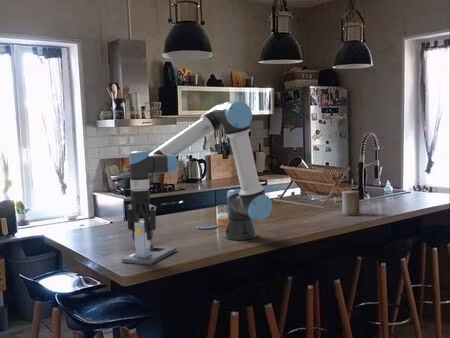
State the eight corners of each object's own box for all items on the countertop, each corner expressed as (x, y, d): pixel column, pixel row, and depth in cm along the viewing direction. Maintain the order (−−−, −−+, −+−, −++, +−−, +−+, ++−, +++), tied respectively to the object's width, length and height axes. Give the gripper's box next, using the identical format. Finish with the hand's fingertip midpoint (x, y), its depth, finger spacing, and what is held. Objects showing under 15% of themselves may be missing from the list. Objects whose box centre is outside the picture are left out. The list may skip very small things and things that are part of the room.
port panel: (150, 249, 213) (149, 245, 213) (176, 251, 209) (176, 247, 208) (121, 262, 193) (121, 258, 193) (150, 264, 188) (150, 260, 188)
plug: (149, 255, 197) (148, 221, 196) (143, 258, 192) (142, 223, 191) (141, 254, 198) (139, 220, 197) (135, 257, 194) (133, 223, 193)
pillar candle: (363, 214, 281) (362, 188, 280) (351, 216, 276) (351, 190, 275) (350, 212, 289) (349, 187, 288) (338, 214, 284) (338, 189, 283)
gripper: (116, 190, 193) (119, 248, 195) (154, 191, 187) (156, 251, 189) (127, 188, 200) (129, 244, 202) (163, 189, 194) (165, 246, 196)
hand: (142, 247), depth 195 cm, fingers closed on plug, 4 cm apart
